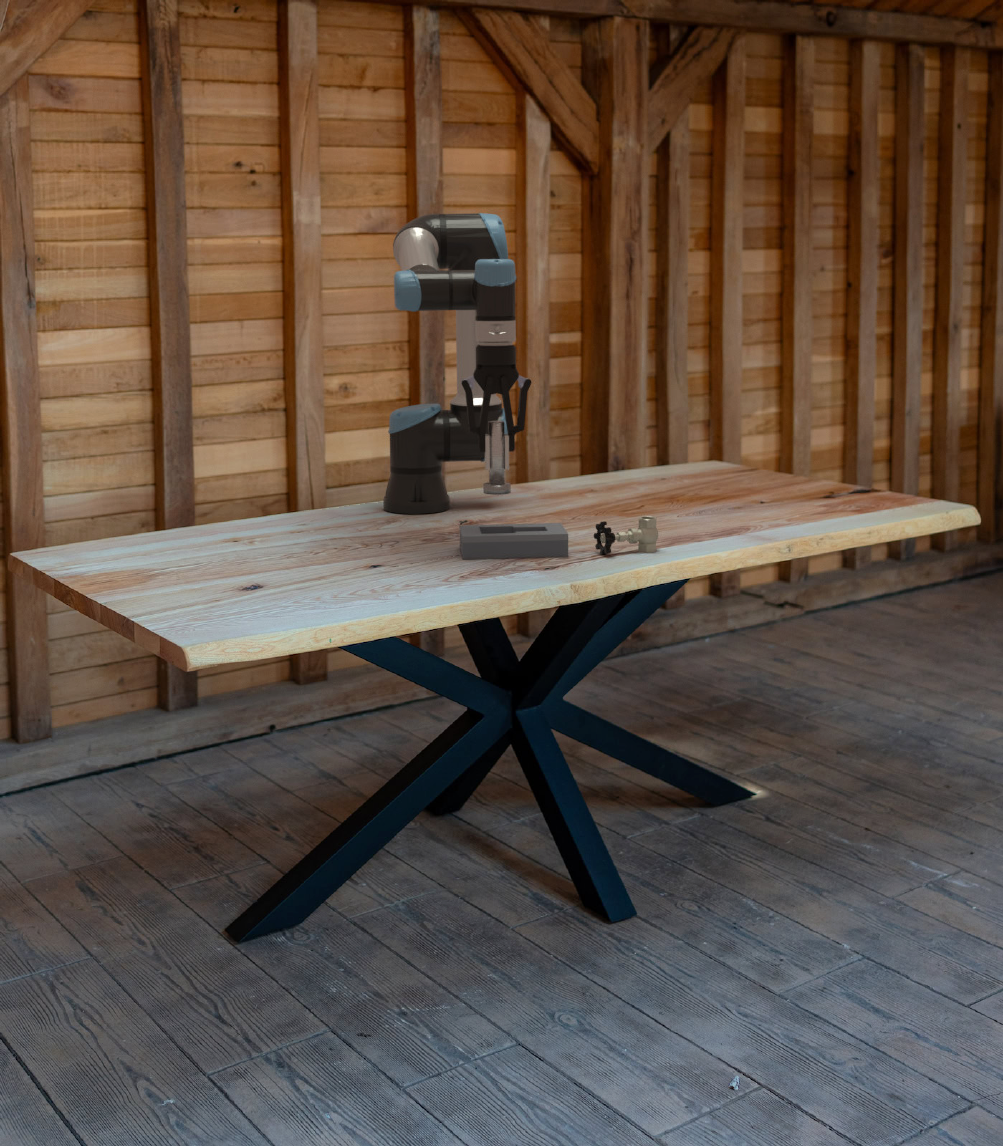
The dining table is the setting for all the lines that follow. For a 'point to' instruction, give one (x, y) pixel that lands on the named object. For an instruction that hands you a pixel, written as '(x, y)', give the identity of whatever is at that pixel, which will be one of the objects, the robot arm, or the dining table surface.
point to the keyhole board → (513, 541)
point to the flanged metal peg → (497, 460)
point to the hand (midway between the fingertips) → (496, 468)
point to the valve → (629, 536)
